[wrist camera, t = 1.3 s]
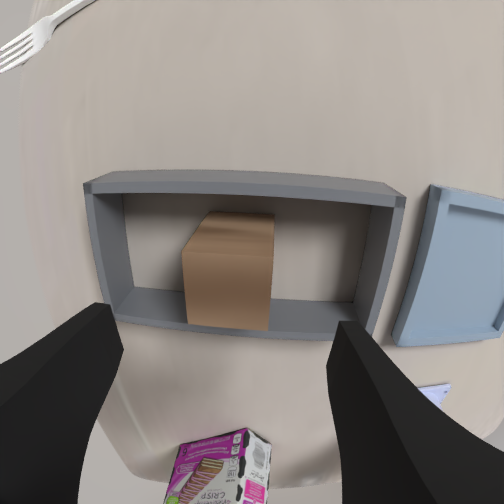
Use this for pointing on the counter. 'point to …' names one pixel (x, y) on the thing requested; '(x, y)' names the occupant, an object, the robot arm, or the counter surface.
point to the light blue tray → (455, 272)
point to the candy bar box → (221, 470)
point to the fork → (38, 34)
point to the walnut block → (230, 271)
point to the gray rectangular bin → (242, 183)
